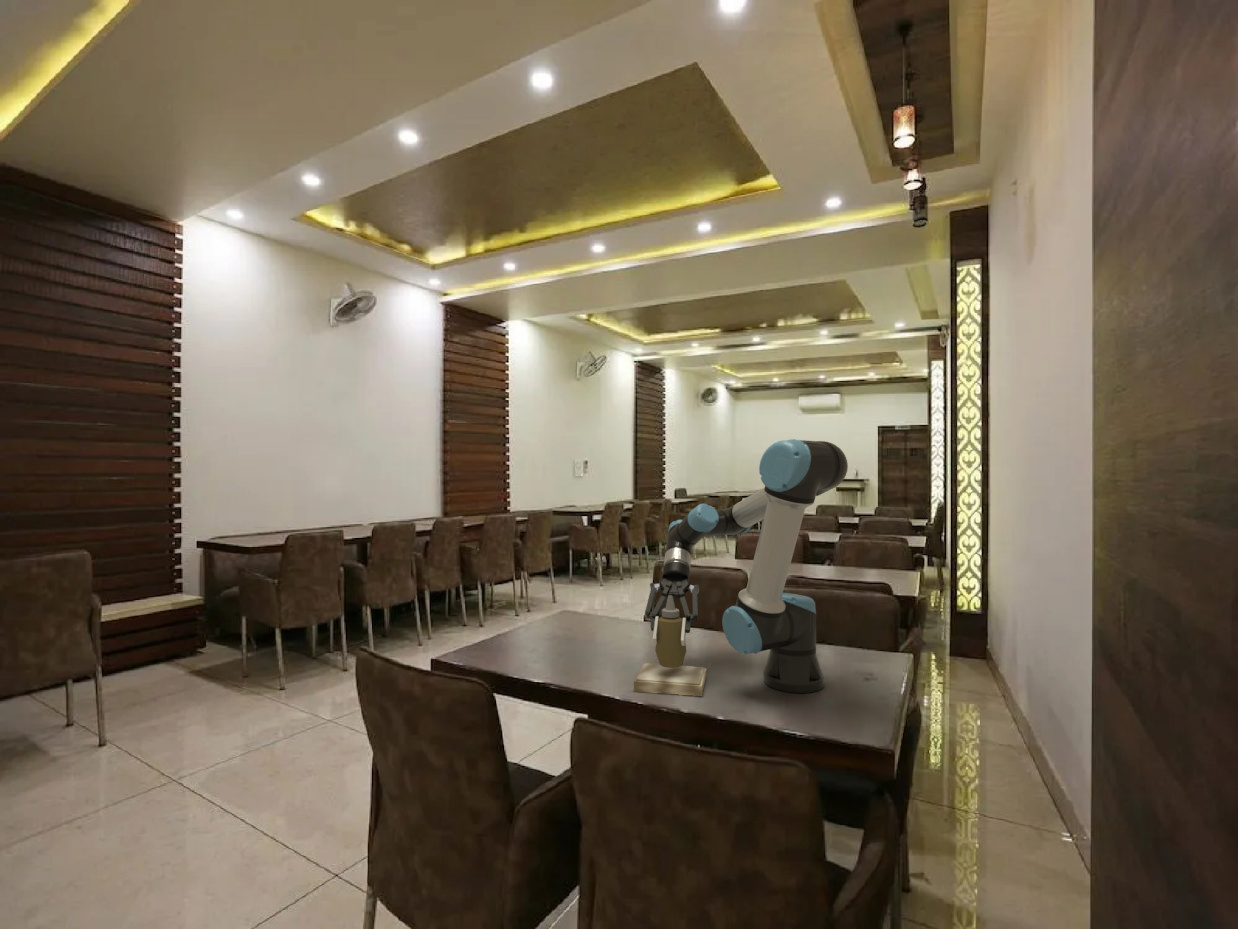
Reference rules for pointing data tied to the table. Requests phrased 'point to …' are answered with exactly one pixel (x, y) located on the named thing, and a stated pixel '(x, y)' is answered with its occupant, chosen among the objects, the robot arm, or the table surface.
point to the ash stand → (670, 680)
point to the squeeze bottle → (670, 637)
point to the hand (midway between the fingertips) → (668, 642)
